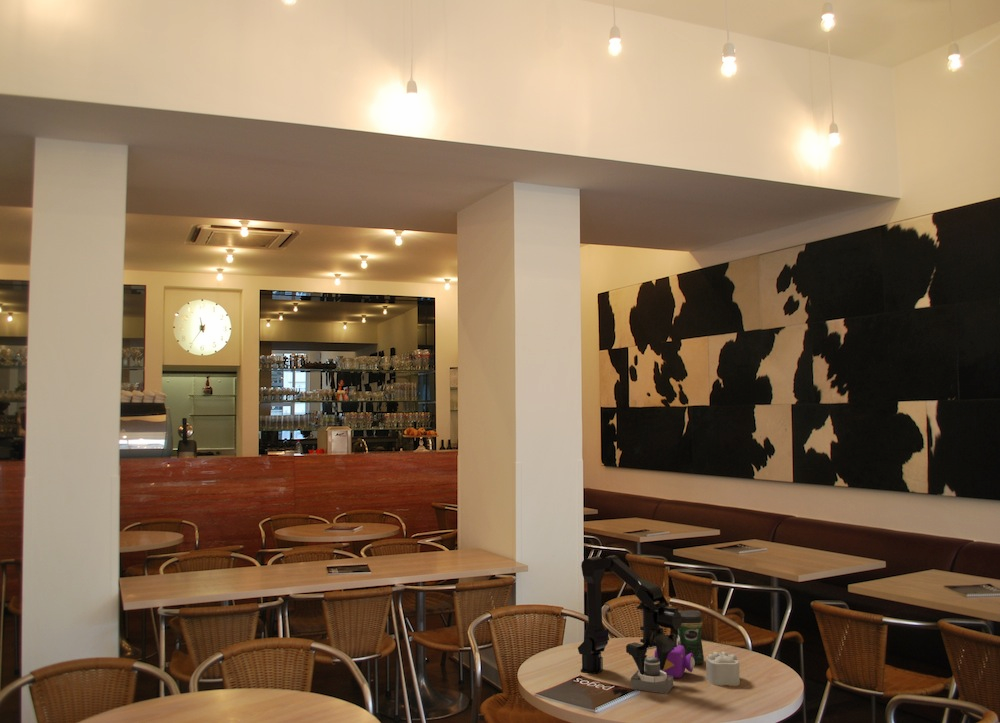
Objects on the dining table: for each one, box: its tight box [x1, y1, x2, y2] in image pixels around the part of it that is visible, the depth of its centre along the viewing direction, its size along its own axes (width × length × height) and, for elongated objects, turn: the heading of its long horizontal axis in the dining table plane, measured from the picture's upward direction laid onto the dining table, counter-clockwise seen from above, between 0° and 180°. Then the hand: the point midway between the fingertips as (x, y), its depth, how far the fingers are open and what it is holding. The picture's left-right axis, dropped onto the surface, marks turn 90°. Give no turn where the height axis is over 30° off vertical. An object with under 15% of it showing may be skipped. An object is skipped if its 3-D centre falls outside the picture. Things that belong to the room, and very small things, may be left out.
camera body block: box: [630, 668, 674, 695], centre depth 276 cm, size 12×9×4 cm
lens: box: [644, 656, 660, 677], centre depth 277 cm, size 5×5×6 cm
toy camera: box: [654, 645, 696, 679], centre depth 290 cm, size 11×14×10 cm
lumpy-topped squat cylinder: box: [705, 650, 741, 687], centre depth 284 cm, size 10×13×9 cm
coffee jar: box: [677, 609, 705, 665], centre depth 304 cm, size 10×8×19 cm
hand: (652, 671), depth 277 cm, fingers open, 9 cm apart
